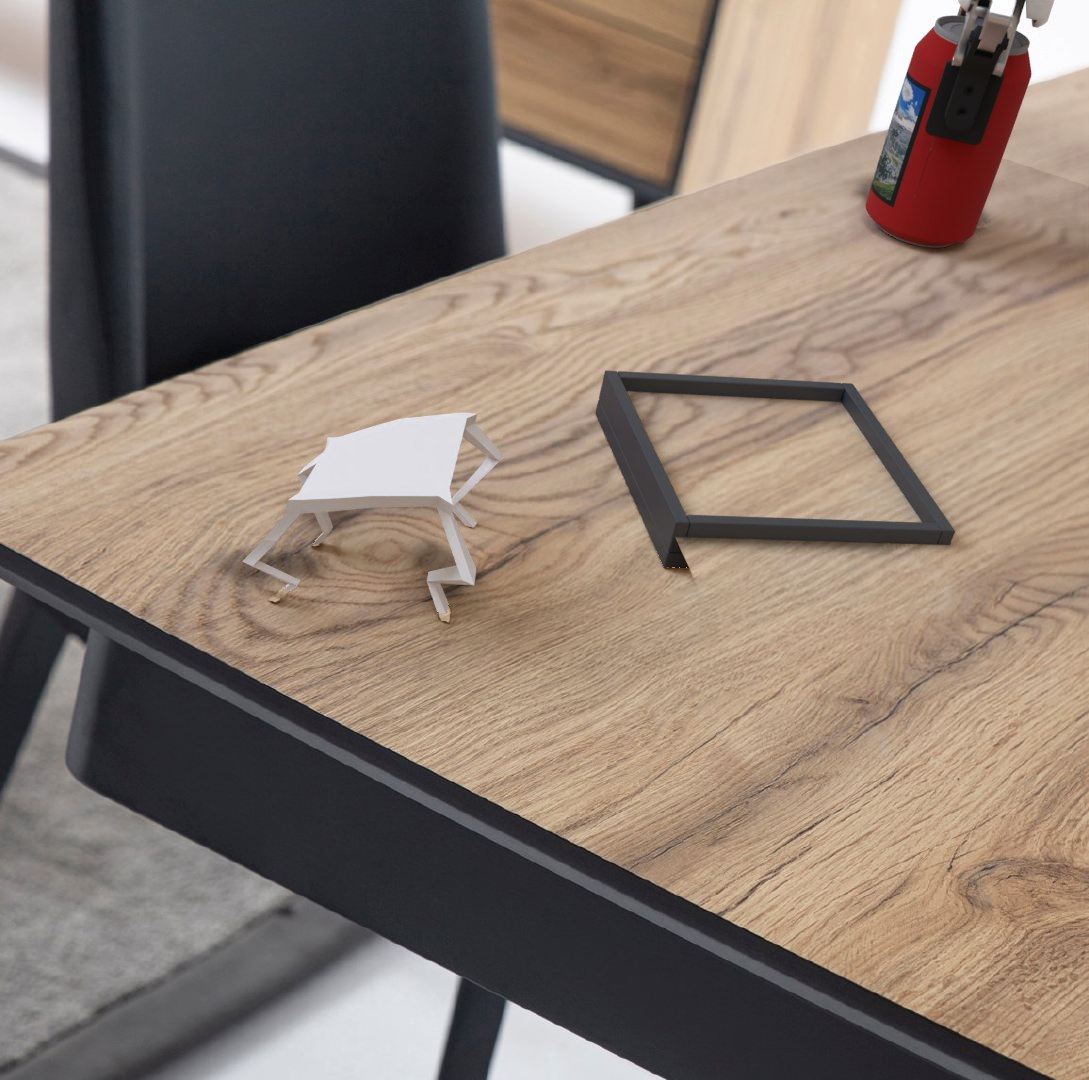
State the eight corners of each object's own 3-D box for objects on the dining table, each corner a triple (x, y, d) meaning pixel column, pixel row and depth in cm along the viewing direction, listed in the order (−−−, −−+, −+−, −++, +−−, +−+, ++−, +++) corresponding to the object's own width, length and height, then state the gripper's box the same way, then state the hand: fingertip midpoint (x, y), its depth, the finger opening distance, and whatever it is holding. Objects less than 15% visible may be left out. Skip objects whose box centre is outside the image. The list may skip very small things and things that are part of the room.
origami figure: (431, 680, 58) (452, 568, 55) (227, 598, 60) (236, 486, 57) (551, 526, 67) (573, 423, 64) (370, 460, 69) (384, 356, 66)
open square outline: (838, 425, 78) (852, 382, 77) (938, 576, 69) (956, 530, 67) (594, 413, 75) (604, 369, 74) (663, 568, 66) (676, 521, 65)
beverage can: (881, 197, 103) (943, 3, 96) (983, 232, 101) (1055, 36, 93) (845, 227, 98) (908, 25, 91) (952, 265, 96) (1025, 61, 88)
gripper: (1153, -177, 77) (1018, 184, 88) (1131, -228, 91) (1016, 89, 101) (995, -210, 78) (880, 150, 89) (996, -256, 92) (897, 61, 102)
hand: (954, 115), depth 95 cm, fingers closed on beverage can, 6 cm apart
